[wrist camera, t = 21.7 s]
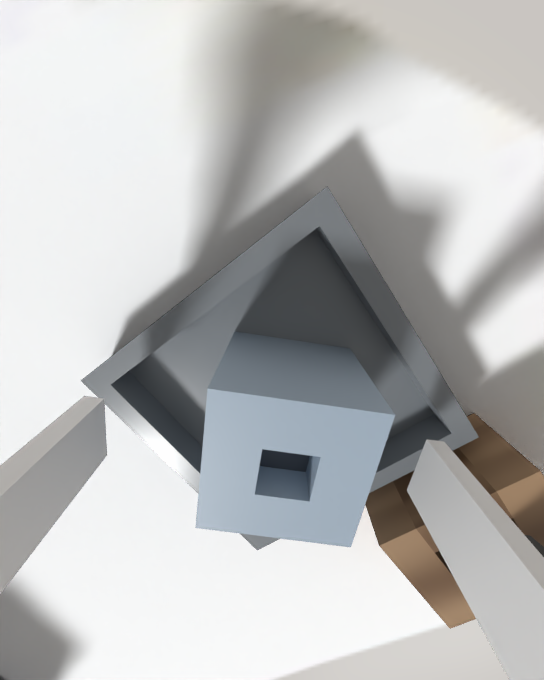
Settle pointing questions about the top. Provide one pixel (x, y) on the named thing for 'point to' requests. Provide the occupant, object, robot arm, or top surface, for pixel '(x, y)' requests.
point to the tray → (287, 323)
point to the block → (290, 441)
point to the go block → (417, 543)
